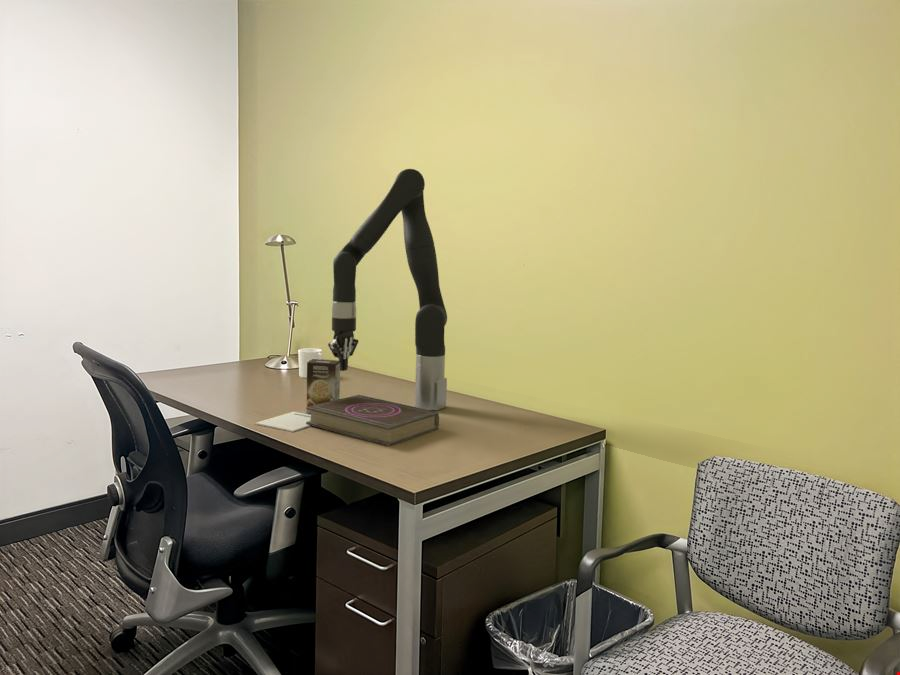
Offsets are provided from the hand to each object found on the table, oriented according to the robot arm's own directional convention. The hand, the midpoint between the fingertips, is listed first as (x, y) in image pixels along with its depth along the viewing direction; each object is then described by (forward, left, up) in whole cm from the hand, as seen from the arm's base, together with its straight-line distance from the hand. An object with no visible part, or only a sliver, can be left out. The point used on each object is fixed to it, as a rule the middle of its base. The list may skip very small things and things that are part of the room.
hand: (343, 370), depth 219 cm
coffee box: (0, +10, -12) cm, 16 cm away
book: (-22, +15, -12) cm, 29 cm away
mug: (+38, -30, -12) cm, 50 cm away
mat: (0, +23, -12) cm, 26 cm away
